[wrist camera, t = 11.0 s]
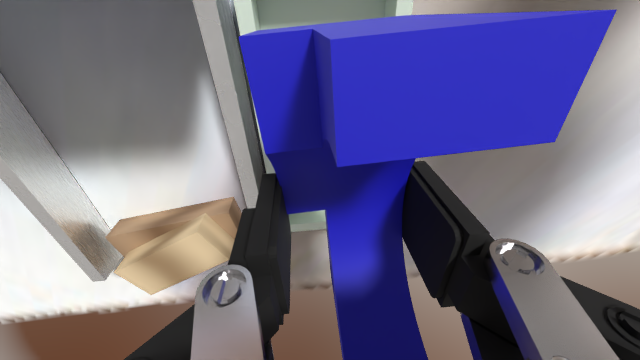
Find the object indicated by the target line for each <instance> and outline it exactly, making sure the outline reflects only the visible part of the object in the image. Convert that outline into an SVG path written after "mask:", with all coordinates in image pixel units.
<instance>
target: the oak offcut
mask: <svg viewBox="0 0 640 360" xmlns="http://www.w3.org/2000/svg"><path fill="white" fill-rule="evenodd" d="M233 244H234V239H233V238H232V237H231V236H230V235H229V234H228V233H227V232H225V231H224V230H223V229H222V228H221V227H220V226H219V225H218V224H217V223H216V222H215V221H214V220H213V219H212V218H210V217H209V216H208V215H207V214H206V213H204V214H203V215H201V216H199V217H197V218H195V219H193V220H191V221H189V222H187V223H185V224H183V225H181V226H179V227H177V228H175V229H173V230H171V231H169V232H167V233H165V234H163V235H161V236H159V237H157V238H155V239H153V240H151V241H149V242H147V243H145V244H143V245H141V246H139V247H137V248H135V249H133V250H131V251H129V252H128V253H127V255H126V256H125V258H124V259H123V260H122V262H121V263H120V265H119V266H118V267H117V269H116V270H115V272H114V273H115V274H117V275H119V276H120V277H122V278H124V279H125V280H127V281H129V282H130V283H132V284H134V285H135V286H137V287H139V288H140V289H142V290H144V291H145V292H147V293H149V294H150V295H152V294H155V293H157V292H159V291H161V290H163V289H166V288H168V287H170V286H172V285H175V284H177V283H179V282H181V281H184V280H186V279H188V278H190V277H192V276H195V275H197V274H199V273H201V272H204V271H206V270H208V269H210V268H213V267H215V266H217V265H219V264H221V263H224V262H226V261H228V260H229V259H230V255H231V251H232V248H233Z"/></svg>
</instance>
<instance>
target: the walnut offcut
mask: <svg viewBox="0 0 640 360" xmlns="http://www.w3.org/2000/svg"><path fill="white" fill-rule="evenodd" d="M204 213H206V214H207V215H208V216H209V217H210V218H212V219H213V220H214V221H215V222H216V223H217V224H218V225H219V226H220V227H221V228H222V229H223V230H224V231H225V232H227V233H228V234H229V235H230V236H231V237H232V238H233V239H234V240H235V237H236V233H237V229H238V226H239V222H240V218H241V215H242V213H241V211H240V209H239V207H238V205H237V203H236V201H235V199H234V197H230V198H226V199H221V200H216V201H211V202H206V203H201V204H196V205H191V206H186V207H181V208H176V209H171V210H166V211H161V212H156V213H151V214H146V215H141V216H136V217H131V218H126V219H121V220H119V222H118V223H117V224H116V225H115V226H114V227H113V229H112V230H111V231H110V232H109V233H108V234H107V236H106V237H105V238H106V239H107V240H108V241H109V242H110V243H111V244H112V245H113V246H114V247H115V248H116V249H117V250H118V251H119V252H120V253H121V255H122V256H123V257H124V258H125V256H126V255H127V253H128V252H129V251H131V250H133V249H135V248H137V247H139V246H141V245H143V244H145V243H147V242H149V241H151V240H153V239H155V238H157V237H159V236H161V235H163V234H165V233H167V232H169V231H171V230H173V229H175V228H177V227H179V226H181V225H183V224H185V223H187V222H189V221H191V220H193V219H195V218H197V217H199V216H201V215H203V214H204Z"/></svg>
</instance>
